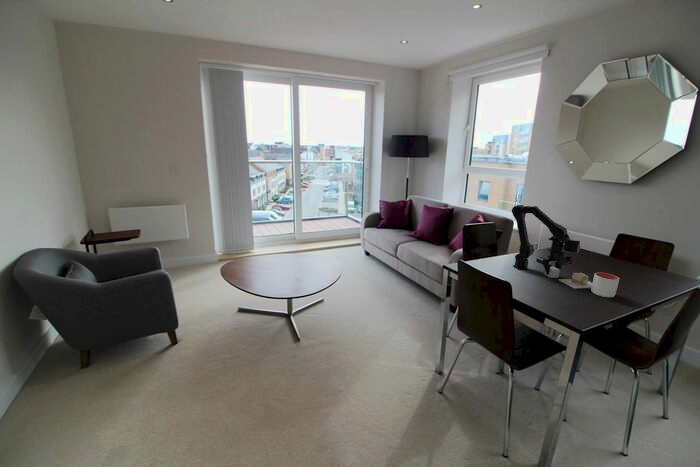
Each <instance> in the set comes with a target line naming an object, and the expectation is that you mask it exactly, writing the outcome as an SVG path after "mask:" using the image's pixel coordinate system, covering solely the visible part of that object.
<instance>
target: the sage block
mask: <svg viewBox="0 0 700 467" xmlns="http://www.w3.org/2000/svg"><path fill="white" fill-rule="evenodd" d="M560 271H561V269H560V270H559V269H557V268H555V266H551V267H550V271H549V274H548V275H547V274H546V271H544V275H545V276H546V277H548V278H551V279H553V278H554V279H555V278H559V276H560Z"/></svg>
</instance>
